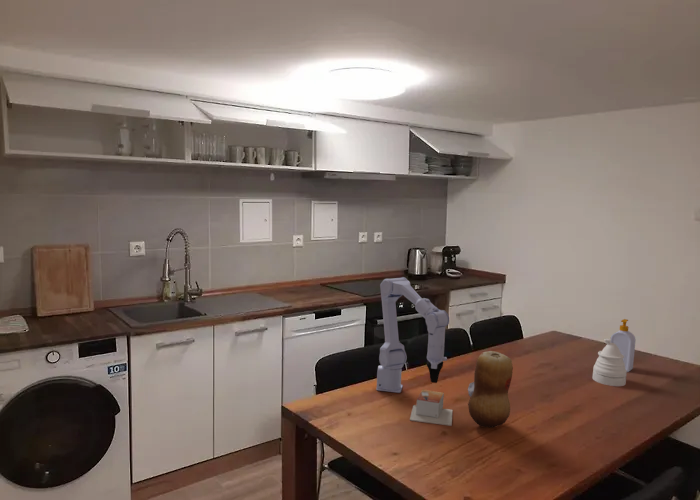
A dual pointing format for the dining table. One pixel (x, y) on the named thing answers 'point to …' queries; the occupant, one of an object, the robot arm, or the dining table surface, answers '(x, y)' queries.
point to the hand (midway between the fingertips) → (434, 382)
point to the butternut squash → (491, 389)
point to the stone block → (471, 388)
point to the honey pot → (610, 366)
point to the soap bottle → (625, 344)
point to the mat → (443, 419)
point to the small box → (429, 403)
